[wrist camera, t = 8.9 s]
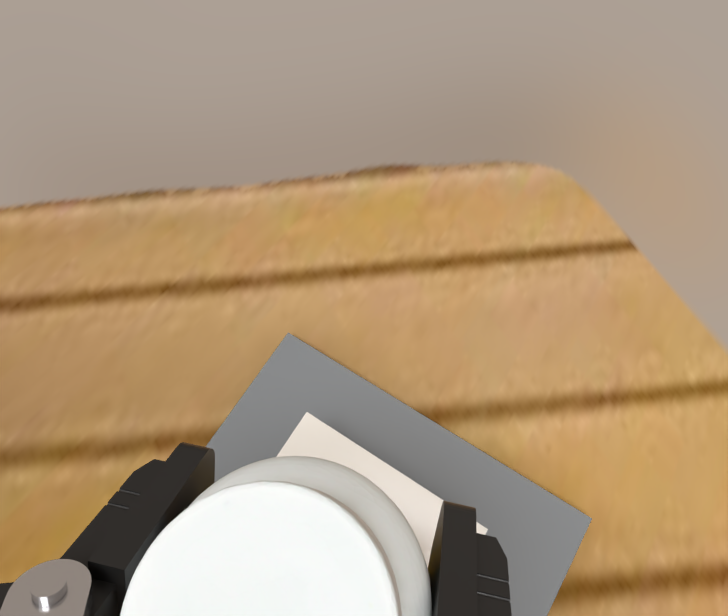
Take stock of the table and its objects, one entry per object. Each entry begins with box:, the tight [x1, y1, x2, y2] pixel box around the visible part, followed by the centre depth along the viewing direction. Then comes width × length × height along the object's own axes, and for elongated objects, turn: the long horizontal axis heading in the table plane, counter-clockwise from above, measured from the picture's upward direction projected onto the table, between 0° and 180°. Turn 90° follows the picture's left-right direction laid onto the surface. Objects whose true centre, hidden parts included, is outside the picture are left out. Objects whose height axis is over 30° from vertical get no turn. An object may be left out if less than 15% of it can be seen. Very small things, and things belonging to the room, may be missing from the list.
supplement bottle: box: [120, 456, 432, 616], centre depth 12 cm, size 5×5×10 cm
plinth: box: [277, 412, 488, 568], centre depth 24 cm, size 9×9×4 cm
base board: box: [206, 333, 592, 616], centre depth 27 cm, size 18×16×1 cm
